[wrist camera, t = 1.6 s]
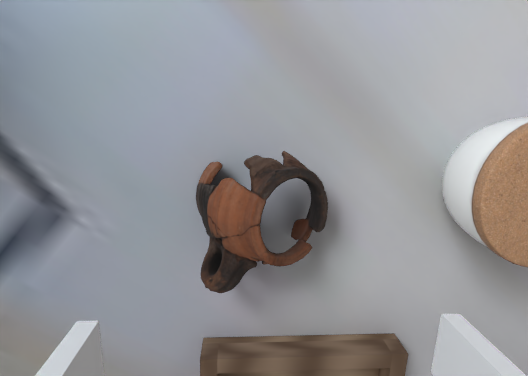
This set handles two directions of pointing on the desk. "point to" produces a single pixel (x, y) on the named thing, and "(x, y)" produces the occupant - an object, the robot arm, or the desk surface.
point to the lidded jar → (492, 188)
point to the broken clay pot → (251, 219)
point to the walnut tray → (304, 356)
